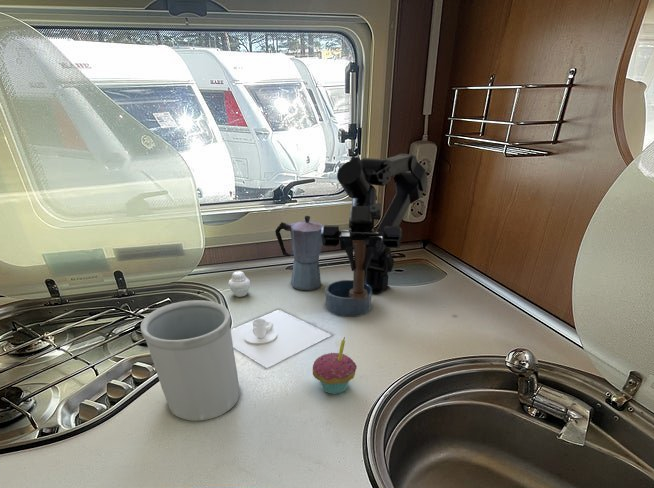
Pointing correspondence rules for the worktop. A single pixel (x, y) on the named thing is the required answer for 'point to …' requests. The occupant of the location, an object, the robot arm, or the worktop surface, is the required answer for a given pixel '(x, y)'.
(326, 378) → the cupcake
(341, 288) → the bowl
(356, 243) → the brown flanged peg
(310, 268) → the moka pot
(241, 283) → the white lidded jar
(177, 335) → the utensil holder
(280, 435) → the worktop surface
